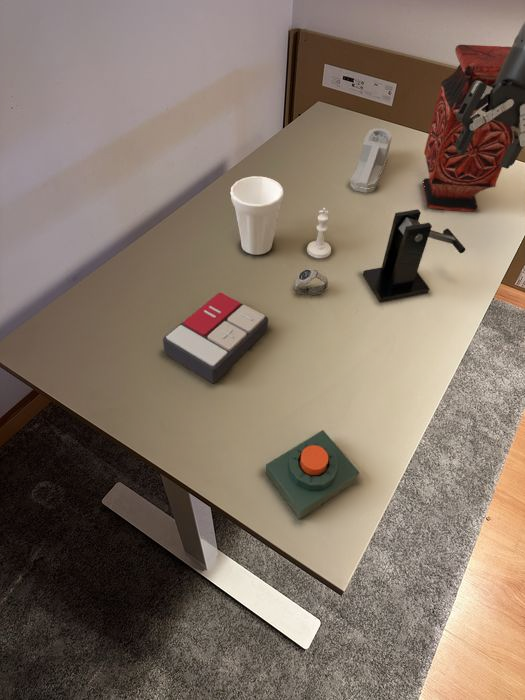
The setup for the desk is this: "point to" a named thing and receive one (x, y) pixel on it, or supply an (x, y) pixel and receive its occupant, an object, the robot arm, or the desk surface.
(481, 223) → the desk surface
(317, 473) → the orange button
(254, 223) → the cup
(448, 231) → the lever
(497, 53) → the vase
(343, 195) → the desk surface
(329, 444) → the control block
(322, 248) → the chess piece
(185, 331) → the calculator
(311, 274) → the wristwatch
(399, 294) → the bracket
